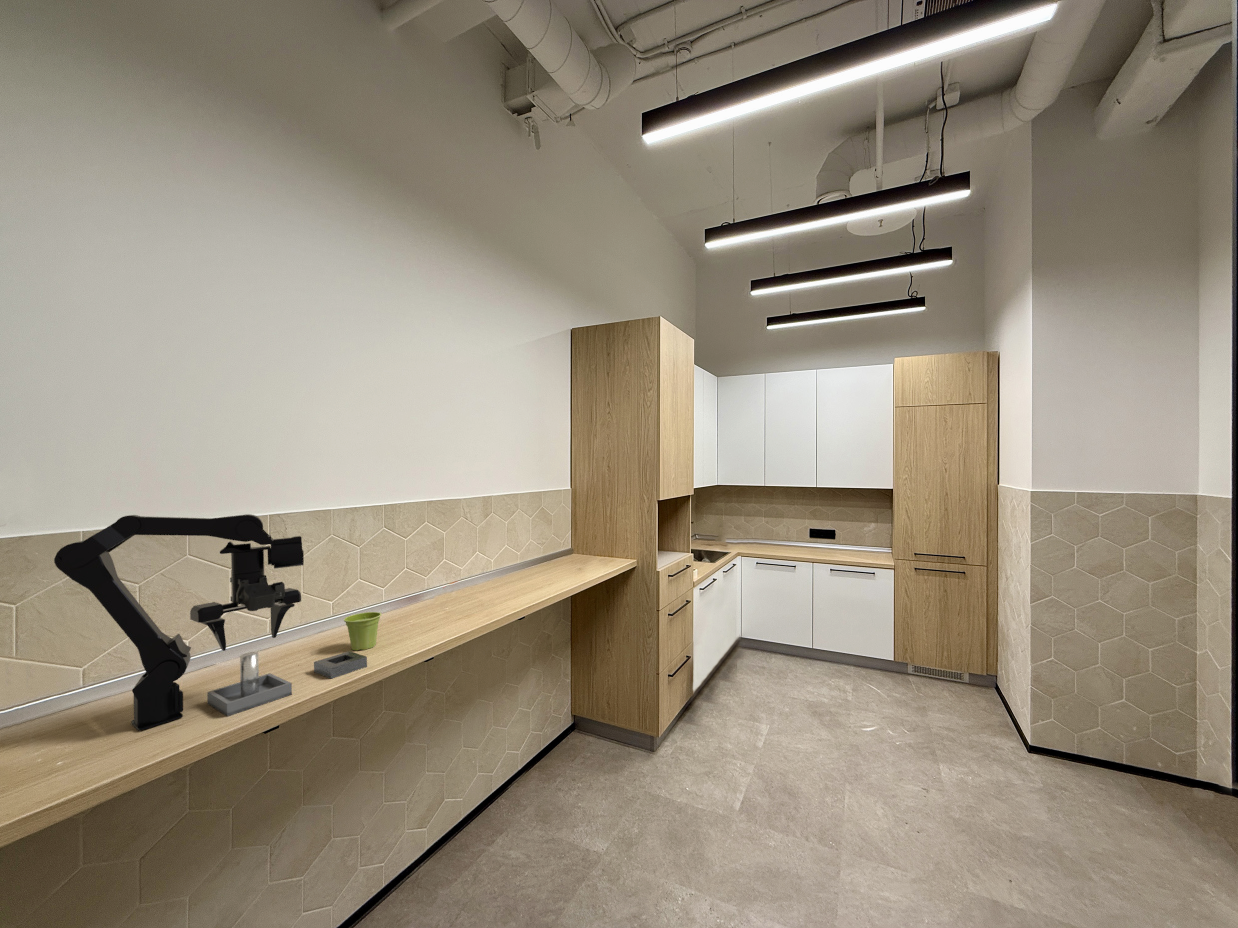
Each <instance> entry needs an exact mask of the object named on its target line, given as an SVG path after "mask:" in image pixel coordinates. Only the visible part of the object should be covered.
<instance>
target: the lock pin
mask: <svg viewBox="0 0 1238 928" xmlns="http://www.w3.org/2000/svg"><path fill="white" fill-rule="evenodd" d="M259 663H260V662H259V651H249V652H247V653H246V652H245V653H243V654H241V655H239V673H240V674H239V676H240V678H239V679H240V681H239V682H240V687H241V698H243V697H246V696H249V695H252V694H255V693H258V692H259V676H260V674H259V673H260V670H259Z"/></svg>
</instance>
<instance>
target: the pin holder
mask: <svg viewBox="0 0 1238 928" xmlns="http://www.w3.org/2000/svg"><path fill="white" fill-rule="evenodd" d="M364 667H365V668H367V667H368V657H367V656H365V655H363V654H360V653H356V652H353V651H350V650H348V651H345V652H342V653H338V654H335V655H332V656H329V657H325V658H323V659H318V660H315V661H313V673H316V674H318V675H321V676H323V677H326V678H328V679H335V678H337V677H341V676H344V675H347V674H351V673H352V671H353V672H355V670H356V671H358V669H359V670H361V668H362V669H364Z"/></svg>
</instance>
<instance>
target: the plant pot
mask: <svg viewBox="0 0 1238 928" xmlns="http://www.w3.org/2000/svg"><path fill="white" fill-rule="evenodd" d="M381 616H382V613H381V612H378V611H369V612H360V613H355V614H352V615H350V616H347V617H345V618H343V622H344V623H345V625H346V627H347V630H348V631H347V632H348V637H349V642H350V648H351V650H352V651H360V650H362V651H363V650H364V651H365V650H369V649H372V648H373V647H375V646H376V644H377V639H378V638H377V636H378V628H379V622H380V618H381Z"/></svg>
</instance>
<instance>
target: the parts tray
mask: <svg viewBox="0 0 1238 928" xmlns="http://www.w3.org/2000/svg"><path fill="white" fill-rule="evenodd" d="M292 684H293V683H292V682H290V681H288V680H286V679H284V678H282V677H279V676H276V675H274V674H272V673H271V672H269V673H266V674H265V673H264V674H263V675H259V692H258V693H255V694H252V695H249V696H246V697H243V698H241V687H240V681H238V682H236V683H233V684H228V685H226V686H223V687H219V688H216V689H212V690H210V691H207V692H206V695H207V701H206V702H207V705H209V706H211V708H213V709H215V710H217V711H218V712H220V713H221V714H223V715H224V716H226V717H231V716H233V715H235V714H239V713H241V712H245V711H248V710H250V709H253V708H256V707H260V706H263V705H265V704H268V702H269V703H272V702H275V701H277V700H280V699H282V698H286V697H288V696H292V695H293V690H292V689H293V688H292V687H293V686H292Z"/></svg>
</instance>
